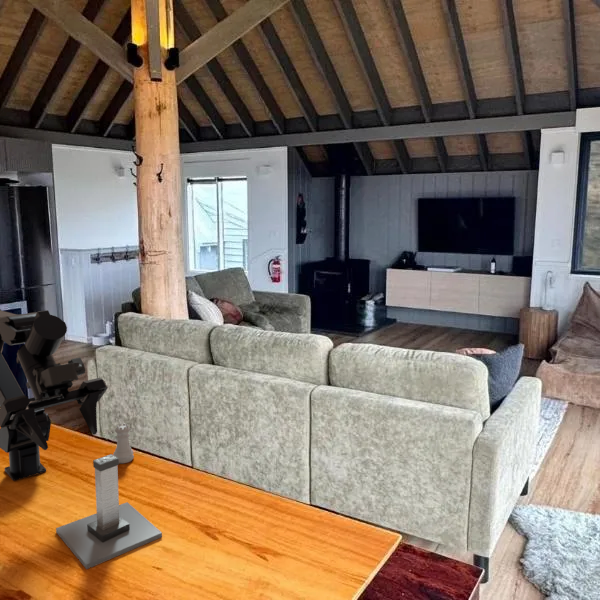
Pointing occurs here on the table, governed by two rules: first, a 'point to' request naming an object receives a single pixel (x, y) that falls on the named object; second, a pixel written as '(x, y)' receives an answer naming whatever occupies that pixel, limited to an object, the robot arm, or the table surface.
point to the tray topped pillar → (107, 500)
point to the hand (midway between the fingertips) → (71, 441)
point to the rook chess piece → (123, 444)
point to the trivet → (96, 551)
